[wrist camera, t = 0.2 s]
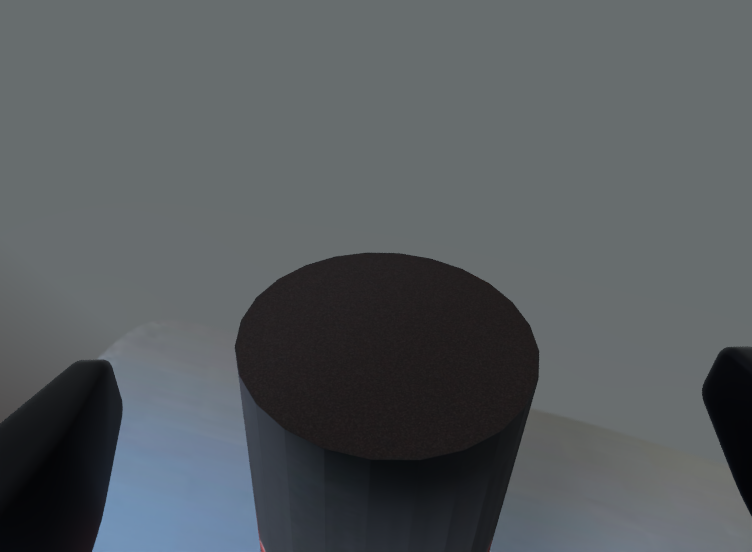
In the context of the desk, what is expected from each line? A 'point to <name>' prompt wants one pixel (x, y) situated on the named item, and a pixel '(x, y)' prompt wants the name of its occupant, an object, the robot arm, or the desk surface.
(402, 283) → the deodorant
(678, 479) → the desk surface
